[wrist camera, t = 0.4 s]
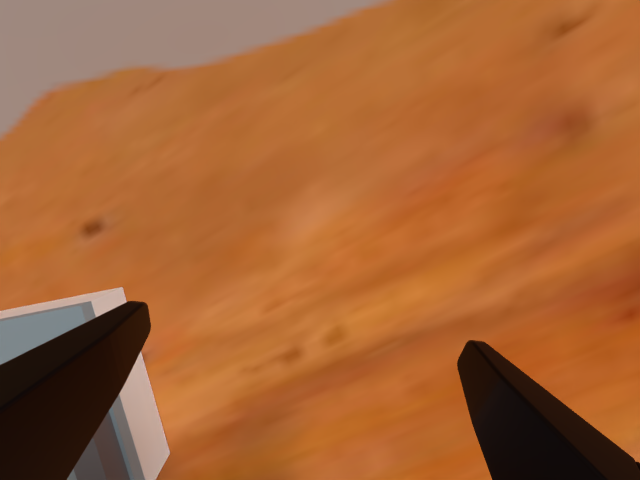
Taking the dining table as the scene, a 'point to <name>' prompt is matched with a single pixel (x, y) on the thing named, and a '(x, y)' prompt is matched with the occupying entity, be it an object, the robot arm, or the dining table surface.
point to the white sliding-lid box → (134, 391)
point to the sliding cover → (114, 433)
